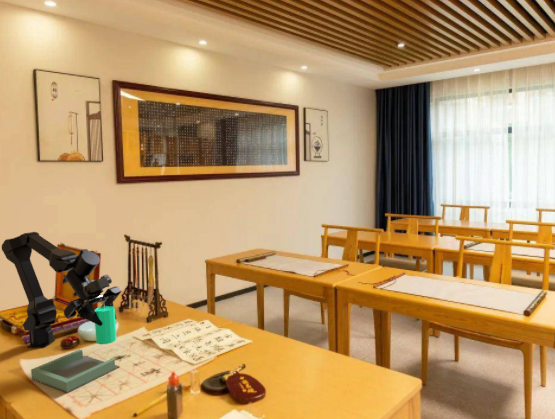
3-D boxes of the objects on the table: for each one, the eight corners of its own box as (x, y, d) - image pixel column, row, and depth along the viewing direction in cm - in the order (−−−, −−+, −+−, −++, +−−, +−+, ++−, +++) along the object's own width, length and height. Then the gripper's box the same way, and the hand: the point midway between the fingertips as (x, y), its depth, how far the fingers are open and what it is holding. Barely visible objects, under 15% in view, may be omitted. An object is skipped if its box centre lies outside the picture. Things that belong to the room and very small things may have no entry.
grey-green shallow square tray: (84, 356, 140) (83, 347, 139) (119, 367, 131) (118, 357, 131) (31, 379, 125) (31, 369, 125) (67, 393, 116) (66, 382, 116)
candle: (109, 344, 134) (107, 307, 132) (92, 343, 135) (89, 306, 134) (120, 337, 139) (118, 301, 138) (103, 336, 141) (101, 300, 140)
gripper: (67, 275, 128) (96, 316, 125) (115, 262, 145) (142, 298, 141) (51, 298, 133) (79, 338, 129) (100, 283, 149) (126, 318, 145)
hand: (108, 322), depth 136 cm, fingers closed on candle, 5 cm apart
